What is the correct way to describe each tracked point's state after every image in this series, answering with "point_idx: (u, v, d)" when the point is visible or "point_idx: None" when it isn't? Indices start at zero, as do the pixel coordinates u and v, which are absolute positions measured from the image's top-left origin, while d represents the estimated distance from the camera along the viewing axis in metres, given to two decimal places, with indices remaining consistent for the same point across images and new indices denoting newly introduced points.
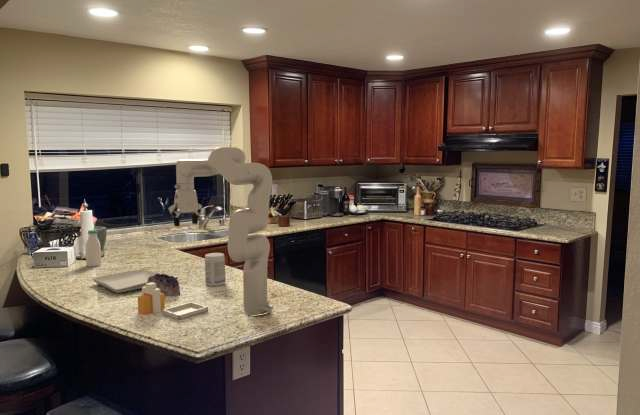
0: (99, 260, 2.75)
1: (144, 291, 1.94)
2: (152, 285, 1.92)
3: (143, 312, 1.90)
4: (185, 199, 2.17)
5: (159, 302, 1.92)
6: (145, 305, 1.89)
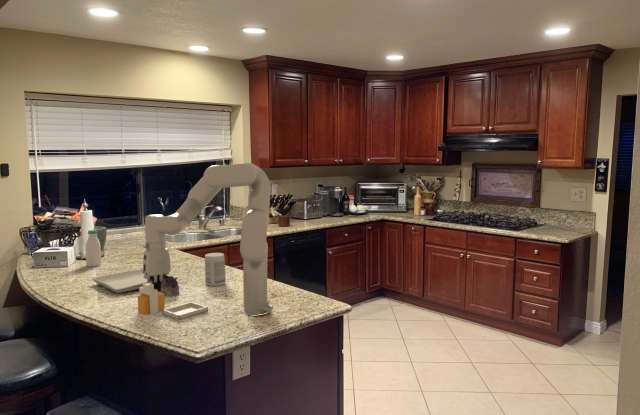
0: (99, 260, 2.75)
1: (141, 292, 1.93)
2: (149, 286, 1.91)
3: (143, 312, 1.90)
4: (154, 260, 1.91)
5: (156, 302, 1.91)
6: (145, 305, 1.89)
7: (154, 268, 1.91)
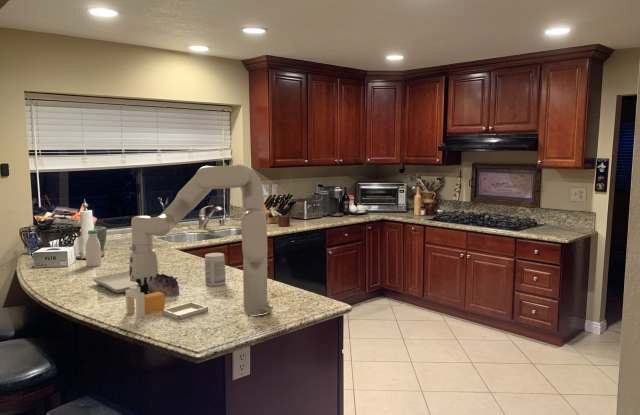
0: (99, 260, 2.75)
1: (128, 295, 1.88)
2: (136, 289, 1.87)
3: None
4: (141, 263, 1.86)
5: (143, 306, 1.86)
6: (145, 305, 1.89)
7: (141, 271, 1.86)
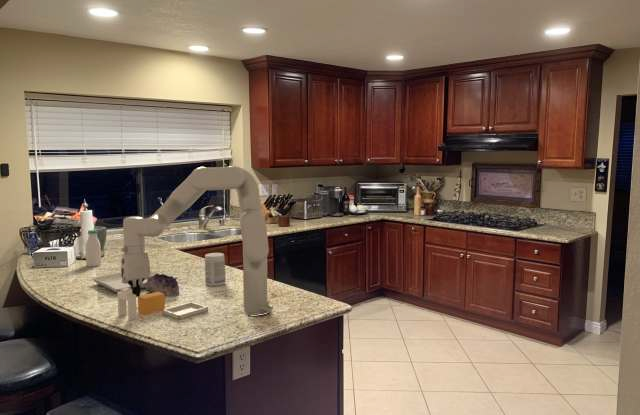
0: (99, 260, 2.75)
1: (120, 297, 1.86)
2: (128, 291, 1.84)
3: (143, 312, 1.90)
4: (133, 264, 1.84)
5: (135, 308, 1.84)
6: (145, 305, 1.89)
7: (132, 272, 1.84)
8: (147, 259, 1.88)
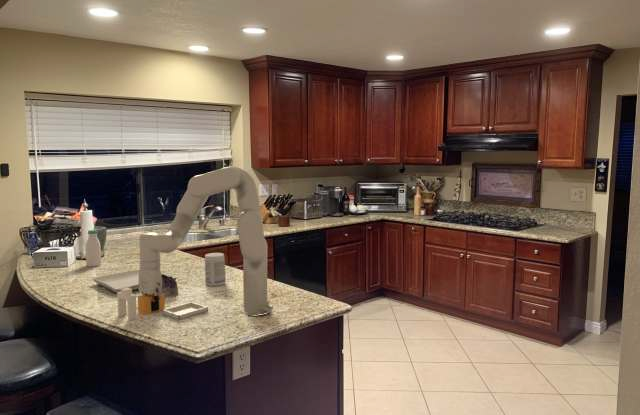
0: (99, 260, 2.75)
1: (119, 297, 1.86)
2: (127, 291, 1.84)
3: (143, 312, 1.90)
4: (141, 277, 1.92)
5: (135, 308, 1.84)
6: (145, 305, 1.89)
7: (140, 285, 1.93)
8: (150, 277, 1.88)
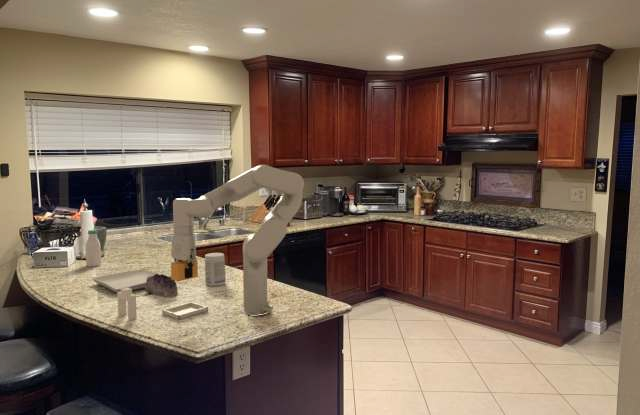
0: (99, 260, 2.75)
1: (119, 297, 1.86)
2: (127, 291, 1.84)
3: (177, 278, 1.86)
4: (174, 244, 1.88)
5: (135, 308, 1.84)
6: (179, 271, 1.85)
7: (174, 251, 1.89)
8: (184, 243, 1.84)
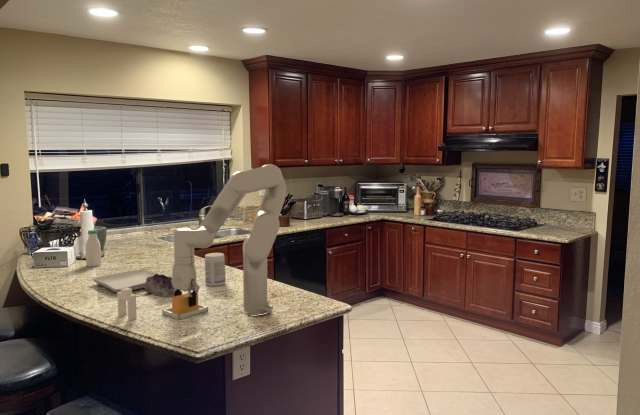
0: (99, 260, 2.75)
1: (119, 297, 1.86)
2: (127, 291, 1.84)
3: (178, 313, 1.87)
4: (175, 273, 1.89)
5: (135, 308, 1.84)
6: (180, 306, 1.87)
7: (174, 281, 1.90)
8: (184, 273, 1.86)
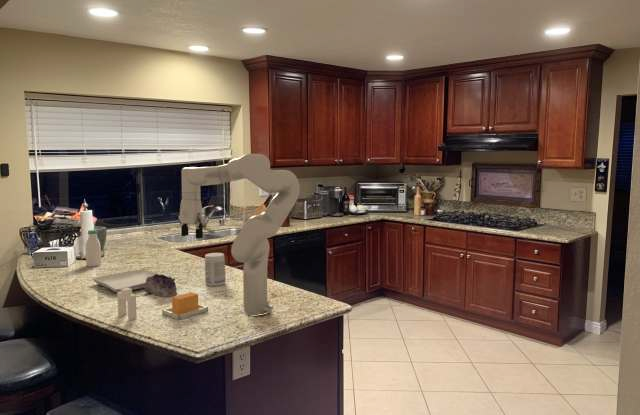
0: (99, 260, 2.75)
1: (119, 297, 1.86)
2: (127, 291, 1.84)
3: (178, 313, 1.87)
4: (182, 209, 2.05)
5: (135, 308, 1.84)
6: (180, 306, 1.87)
7: (182, 216, 2.05)
8: (191, 207, 2.01)
